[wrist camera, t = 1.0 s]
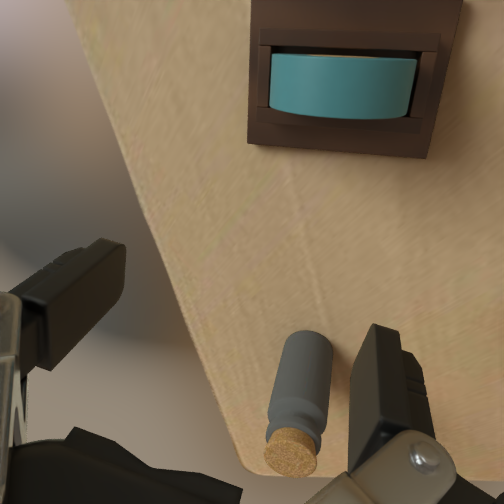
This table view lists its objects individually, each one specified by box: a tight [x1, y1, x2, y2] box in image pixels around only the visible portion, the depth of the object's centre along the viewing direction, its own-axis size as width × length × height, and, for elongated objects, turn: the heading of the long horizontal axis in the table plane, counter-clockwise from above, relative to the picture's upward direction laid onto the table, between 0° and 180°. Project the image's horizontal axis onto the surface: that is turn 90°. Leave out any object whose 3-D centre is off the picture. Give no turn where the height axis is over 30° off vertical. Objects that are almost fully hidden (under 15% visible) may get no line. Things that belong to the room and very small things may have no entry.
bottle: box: [264, 331, 333, 478], centre depth 42 cm, size 6×6×15 cm
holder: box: [247, 0, 463, 159], centre depth 33 cm, size 12×16×4 cm
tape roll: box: [270, 54, 417, 119], centre depth 29 cm, size 4×10×10 cm, turn 88°
